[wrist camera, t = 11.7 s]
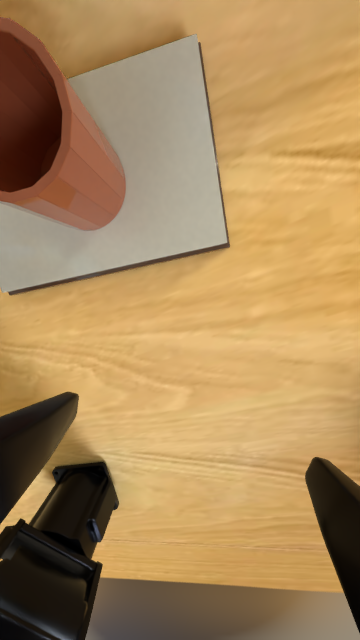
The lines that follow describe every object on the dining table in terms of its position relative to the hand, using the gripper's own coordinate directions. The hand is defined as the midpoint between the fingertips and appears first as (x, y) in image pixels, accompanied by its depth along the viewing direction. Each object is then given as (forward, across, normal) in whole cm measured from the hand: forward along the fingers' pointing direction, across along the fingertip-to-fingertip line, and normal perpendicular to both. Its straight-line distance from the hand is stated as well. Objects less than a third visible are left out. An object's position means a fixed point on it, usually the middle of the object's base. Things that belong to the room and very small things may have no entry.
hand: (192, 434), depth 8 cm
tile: (+12, +11, -10) cm, 19 cm away
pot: (+10, +11, -10) cm, 18 cm away
